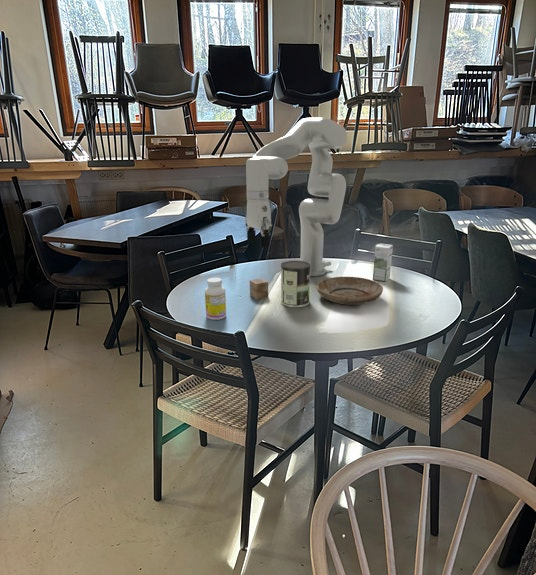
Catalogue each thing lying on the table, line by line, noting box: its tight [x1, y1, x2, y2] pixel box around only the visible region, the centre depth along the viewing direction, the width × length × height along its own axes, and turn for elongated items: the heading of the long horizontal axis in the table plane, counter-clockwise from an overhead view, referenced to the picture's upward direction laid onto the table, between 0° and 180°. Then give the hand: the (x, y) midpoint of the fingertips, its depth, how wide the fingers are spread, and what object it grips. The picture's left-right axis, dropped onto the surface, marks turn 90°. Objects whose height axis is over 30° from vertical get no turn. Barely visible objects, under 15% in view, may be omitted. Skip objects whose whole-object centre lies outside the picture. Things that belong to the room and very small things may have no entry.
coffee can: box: [280, 260, 311, 308], centre depth 152 cm, size 10×10×14 cm
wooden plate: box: [316, 276, 384, 306], centre depth 157 cm, size 23×24×5 cm
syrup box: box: [372, 243, 394, 283], centre depth 176 cm, size 6×6×14 cm
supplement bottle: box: [204, 277, 227, 321], centre depth 141 cm, size 7×7×13 cm
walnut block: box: [249, 277, 269, 300], centre depth 160 cm, size 5×5×6 cm
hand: (258, 244), depth 154 cm, fingers open, 9 cm apart
